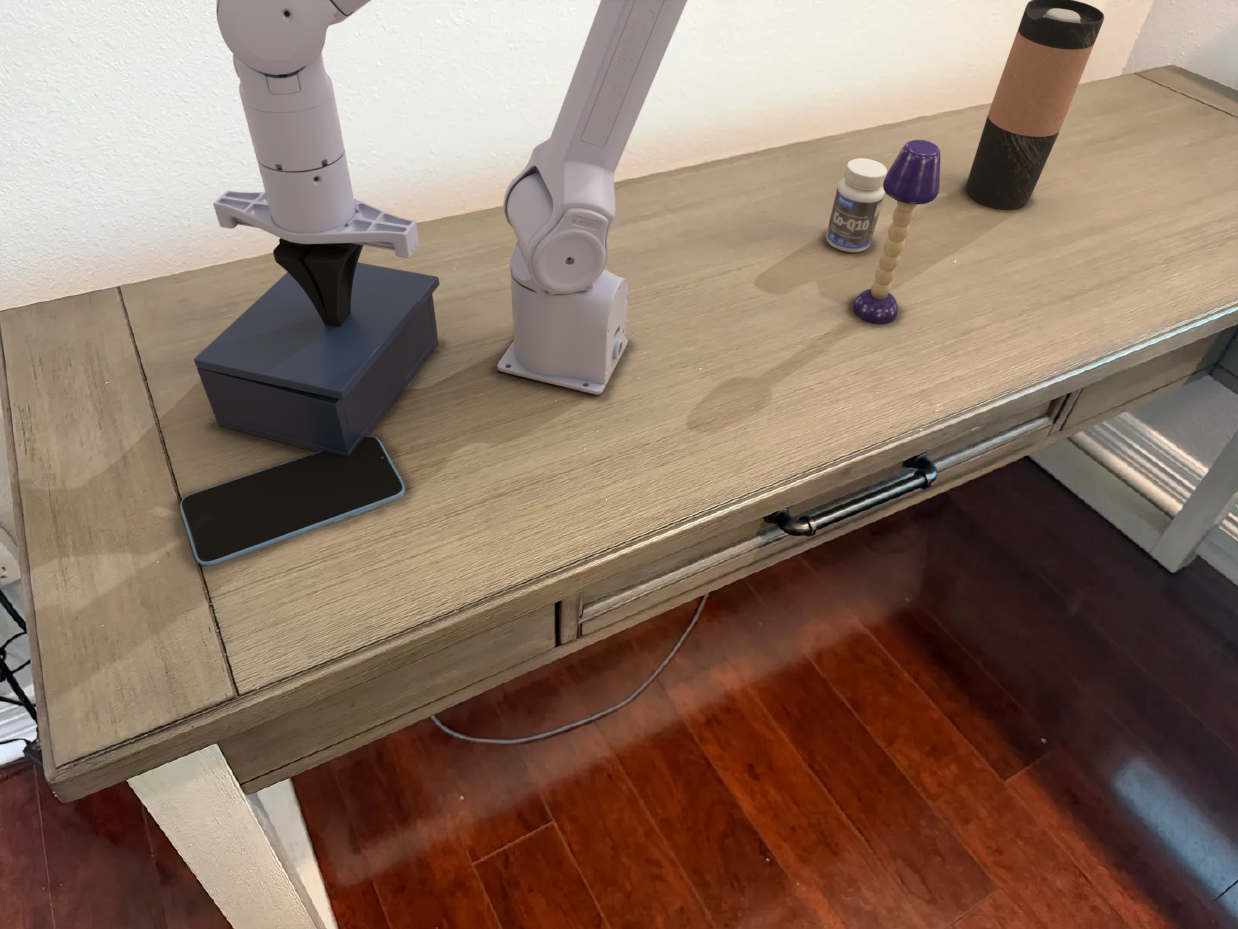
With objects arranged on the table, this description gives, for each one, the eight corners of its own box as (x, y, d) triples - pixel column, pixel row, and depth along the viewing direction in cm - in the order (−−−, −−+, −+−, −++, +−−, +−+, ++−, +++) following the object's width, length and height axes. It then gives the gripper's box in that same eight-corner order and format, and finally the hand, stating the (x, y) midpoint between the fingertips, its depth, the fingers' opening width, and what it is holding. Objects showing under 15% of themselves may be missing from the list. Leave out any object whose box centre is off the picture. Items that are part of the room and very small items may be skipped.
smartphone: (175, 496, 65) (375, 430, 70) (179, 504, 65) (377, 438, 71) (197, 567, 60) (409, 490, 66) (201, 575, 61) (410, 498, 66)
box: (439, 344, 79) (432, 289, 75) (349, 461, 68) (335, 404, 64) (322, 316, 81) (309, 261, 77) (217, 425, 70) (196, 368, 66)
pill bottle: (820, 246, 93) (838, 171, 87) (830, 225, 96) (848, 151, 90) (865, 257, 92) (886, 182, 86) (874, 236, 95) (895, 161, 89)
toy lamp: (904, 327, 84) (959, 159, 72) (855, 327, 83) (903, 158, 72) (890, 297, 87) (940, 132, 75) (843, 297, 87) (887, 131, 75)
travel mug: (1038, 190, 104) (1113, 7, 90) (1021, 218, 99) (1097, 29, 85) (974, 171, 107) (1036, -9, 92) (954, 197, 102) (1017, 11, 88)
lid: (440, 284, 74) (438, 276, 74) (343, 400, 64) (341, 391, 63) (309, 260, 77) (307, 252, 76) (196, 367, 66) (192, 359, 66)
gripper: (425, 141, 62) (444, 304, 71) (232, 112, 63) (276, 275, 73) (384, 189, 57) (410, 357, 66) (176, 157, 59) (231, 325, 68)
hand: (337, 318), depth 69 cm, fingers closed
